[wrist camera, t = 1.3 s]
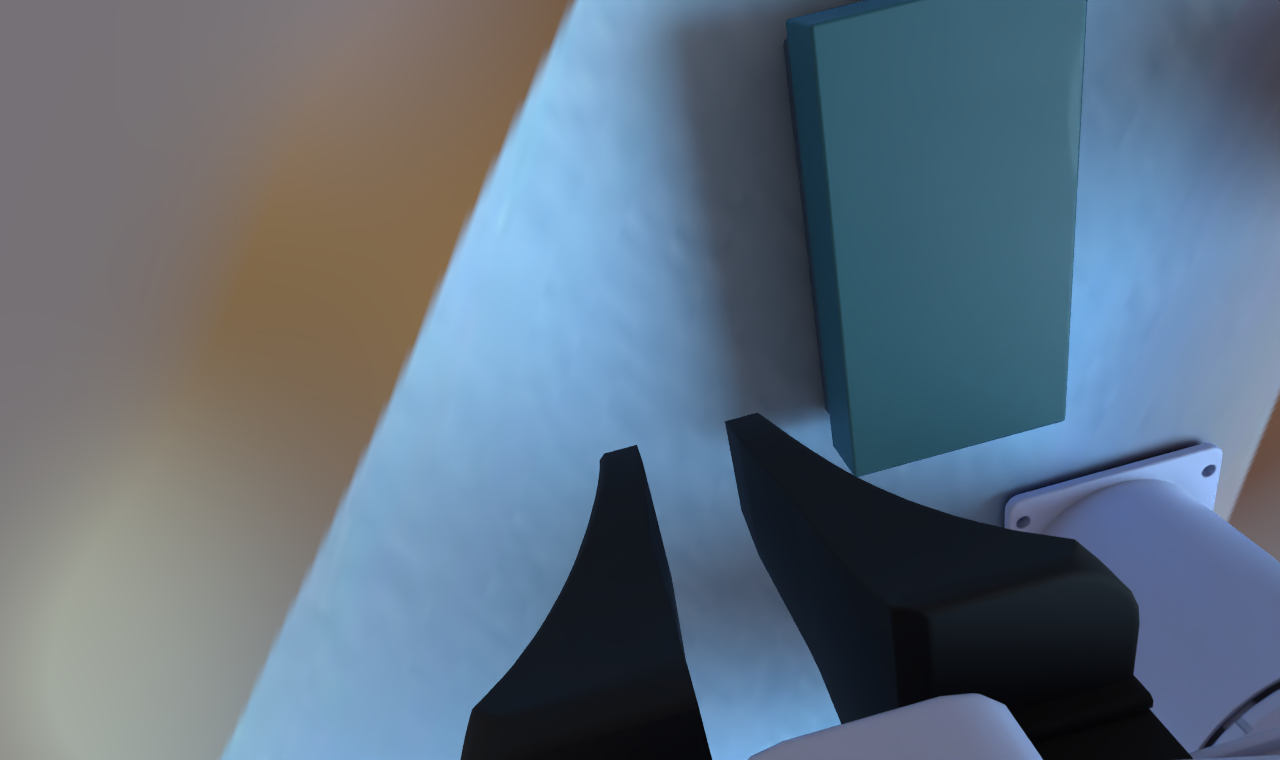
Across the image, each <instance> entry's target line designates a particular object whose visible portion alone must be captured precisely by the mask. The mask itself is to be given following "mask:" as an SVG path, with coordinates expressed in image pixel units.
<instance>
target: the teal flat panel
mask: <svg viewBox="0 0 1280 760" xmlns="http://www.w3.org/2000/svg"><path fill="white" fill-rule="evenodd" d="M1086 13H1087V0H865V1H861V2H857V3H853V4H848V5H844V6H840V7H836V8H832V9H828V10H824V11H820V12H816V13H812V14H808V15H804V16H800V17H796V18H792V19H789V20H787V22H786V28H787V37H788V39H786V40H785V41H784V53H785V62H786V70H787V79H788V88H789V97H790V105H791V114H792V123H793V132H794V140H795V149H796V158H797V166H798V175H799V184H800V193H801V201H802V210H803V219H804V228H805V236H806V245H807V254H808V263H809V271H810V280H811V289H812V298H813V306H814V315H815V324H816V332H817V341H818V350H819V359H820V367H821V376H822V385H823V394H824V402H825V409H826V410H827V412H828V413H829V414H830V422H831V431H832V440H833V446H834V448H835V449H836V450H837V452H838V453H839V455H840V456H841V458H842V459H843V460H844V462H845V463H846V465H847V466H848V467H849V469H850V470H851V472H852V473H853V475H854V476H856V477H859V476H863V475H867V474H870V473H874V472H878V471H881V470H885V469H889V468H892V467H896V466H900V465H903V464H907V463H911V462H914V461H918V460H922V459H925V458H929V457H933V456H936V455H940V454H944V453H947V452H951V451H955V450H958V449H962V448H966V447H969V446H973V445H977V444H980V443H984V442H988V441H991V440H995V439H999V438H1002V437H1006V436H1010V435H1013V434H1017V433H1021V432H1024V431H1028V430H1032V429H1035V428H1039V427H1043V426H1046V425H1050V424H1054V423H1057V422H1061V421H1064V420H1065V409H1066V391H1067V372H1068V353H1069V334H1070V315H1071V296H1072V277H1073V259H1074V240H1075V221H1076V202H1077V183H1078V164H1079V145H1080V127H1081V108H1082V89H1083V70H1084V51H1085V32H1086Z"/></svg>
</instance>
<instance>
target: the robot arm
mask: <svg viewBox="0 0 1280 760" xmlns="http://www.w3.org/2000/svg"><path fill="white" fill-rule="evenodd" d="M725 424H726V429H727V435H728V440H729V446H730V451H731V456H732V462H733V467H734V473H735V478H736V483H737V489H738V494H739V499H740V505H741V510H742V513H743V515H744V518H745V521H746V523H747V526H748V529H749V531H750V534H751V536H752V539H753V542H754V544H755V547H756V549H757V552H758V554H759V556H760V558H761V560H762V562H763V564H764V566H765V568H766V570H767V572H768V573H769V575H770V577H771V579H772V581H773V583H774V585H775V586H776V588H777V590H778V592H779V594H780V596H781V598H782V599H783V601H784V603H785V605H786V607H787V609H788V611H789V612H790V614H791V616H792V618H793V620H794V622H795V623H796V625H797V627H798V629H799V631H800V633H801V635H802V636H803V638H804V640H805V642H806V644H807V646H808V648H809V650H810V652H811V654H812V656H813V658H814V660H815V662H816V664H817V666H818V668H819V670H820V673H821V675H822V678H823V680H824V682H825V685H826V687H827V690H828V692H829V695H830V697H831V700H832V702H833V704H834V707H835V709H836V712H837V714H838V717H839V719H840V722H841V725H838V726H834V727H831V728H827V729H824V730H820V731H817V732H813V733H810V734H806V735H803V736H799V737H796V738H792V739H789V740H785V741H782V742H780V743H778V744H776V745H774V746H772V747H770V748H767V749H765V750H763V751H761V752H759V753H757V754H755V755H753V756H751V757H750V758H749V759H748V760H1280V562H1278V561H1277V560H1276V559H1275V558H1273V557H1272V556H1271V555H1269V554H1268V553H1267V552H1265V551H1264V550H1263V549H1262V548H1260V547H1259V546H1258V545H1256V544H1255V543H1253V542H1252V541H1251V540H1250V539H1248V538H1247V537H1246V536H1244V535H1243V534H1242V533H1240V532H1239V531H1238V530H1237V529H1235V528H1233V526H1231V525H1230V524H1229V523H1227V522H1226V521H1225V520H1223V519H1222V518H1221V517H1219V516H1218V515H1217V514H1215V513H1214V512H1213V509H1214V503H1215V497H1216V491H1217V485H1218V479H1219V473H1220V467H1221V461H1222V450H1221V449H1220V448H1219V447H1217V446H1216V445H1214V444H1212V443H1203V444H1199V445H1196V446H1192V447H1188V448H1185V449H1181V450H1178V451H1174V452H1170V453H1167V454H1163V455H1159V456H1156V457H1152V458H1149V459H1145V460H1141V461H1138V462H1134V463H1130V464H1127V465H1123V466H1120V467H1116V468H1112V469H1109V470H1105V471H1101V472H1098V473H1094V474H1091V475H1087V476H1083V477H1080V478H1076V479H1072V480H1069V481H1065V482H1062V483H1058V484H1054V485H1051V486H1047V487H1043V488H1040V489H1036V490H1033V491H1029V492H1025V493H1022V494H1018V495H1016V496H1014V497H1012V498H1011V499H1010V500H1009V501H1008V502H1007V504H1006V506H1005V528H1002V527H998V526H993V525H989V524H984V523H980V522H976V521H972V520H968V519H965V518H961V517H957V516H954V515H951V514H947V513H944V512H941V511H938V510H935V509H932V508H929V507H926V506H923V505H920V504H917V503H914V502H912V501H909V500H906V499H904V498H902V497H899V496H897V495H895V494H892V493H890V492H887V491H885V490H883V489H880V488H878V487H876V486H874V485H872V484H870V483H867V482H865V481H863V480H861V479H860V478H858V477H856V476H854V475H852V474H850V473H848V472H846V471H845V470H843V469H841V468H839V467H838V466H836V465H834V464H833V463H831V462H829V461H828V460H826V459H825V458H823V457H821V456H820V455H818V454H817V453H815V452H813V451H812V450H810V449H809V448H807V447H806V446H804V445H803V444H801V443H800V442H798V441H797V440H795V439H794V438H793V437H791V436H790V435H788V434H787V433H785V432H784V431H783V430H781V429H780V428H779V427H777V426H776V425H774V424H773V423H772V422H770V421H769V420H768V419H766V418H765V417H763V416H762V415H760V414H759V413H754V414H751V415H747V416H743V417H739V418H736V419H732V420H728V421H725ZM1022 517H1023V518H1022ZM1020 518H1022V519H1021V520H1019V519H1020ZM1018 520H1019V521H1018ZM461 760H712V757H711V754H710V750H709V746H708V742H707V738H706V734H705V730H704V726H703V722H702V718H701V714H700V711H699V707H698V703H697V699H696V696H695V692H694V688H693V685H692V681H691V677H690V674H689V670H688V667H687V663H686V659H685V653H684V647H683V641H682V635H681V629H680V623H679V618H678V612H677V606H676V600H675V594H674V588H673V582H672V577H671V573H670V569H669V565H668V561H667V557H666V553H665V549H664V545H663V541H662V537H661V533H660V529H659V525H658V521H657V517H656V513H655V509H654V505H653V501H652V497H651V493H650V490H649V486H648V482H647V478H646V474H645V470H644V466H643V462H642V459H641V456H640V453H639V450H638V447H637V445H635V446H631V447H627V448H624V449H620V450H616V451H612V452H609V453H605V454H604V455H603V456H602V458H601V459H600V472H599V480H598V486H597V491H596V496H595V501H594V505H593V508H592V512H591V516H590V520H589V523H588V527H587V530H586V533H585V535H584V538H583V541H582V544H581V547H580V549H579V552H578V555H577V558H576V560H575V562H574V565H573V567H572V570H571V572H570V574H569V576H568V578H567V580H566V582H565V585H564V587H563V589H562V591H561V593H560V595H559V596H558V598H557V600H556V602H555V604H554V605H553V607H552V609H551V611H550V612H549V614H548V616H547V618H546V619H545V621H544V622H543V624H542V626H541V627H540V629H539V630H538V632H537V633H536V635H535V636H534V638H533V639H532V640H531V642H530V643H529V645H528V646H527V647H526V649H525V650H524V651H523V653H522V654H521V655H520V657H519V658H518V660H517V661H516V662H515V664H514V665H513V666H512V667H511V668H510V670H509V671H508V672H507V673H506V674H505V675H504V676H503V677H502V679H501V680H500V681H499V682H498V683H497V684H496V685H495V686H494V687H493V688H492V689H491V690H490V691H489V692H488V694H487V695H486V696H485V697H484V698H483V699H482V700H481V701H480V702H479V703H478V704H477V705H476V706H475V707H474V708H473V709H472V712H471V715H470V719H469V723H468V727H467V731H466V735H465V739H464V745H463V750H462V755H461Z"/></svg>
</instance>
